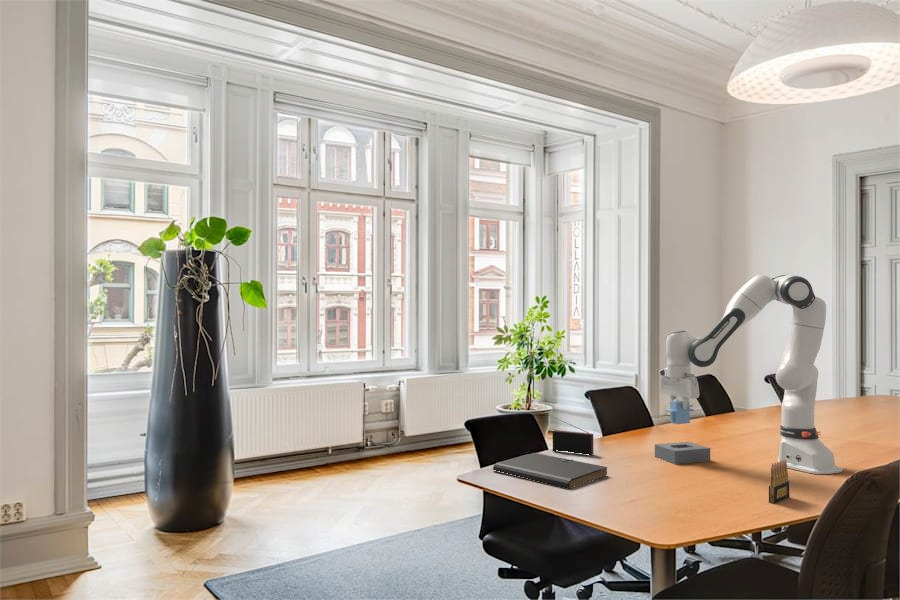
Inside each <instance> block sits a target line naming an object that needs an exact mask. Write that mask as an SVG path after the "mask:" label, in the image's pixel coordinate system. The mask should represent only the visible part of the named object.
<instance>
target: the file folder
mask: <svg viewBox="0 0 900 600" xmlns="http://www.w3.org/2000/svg"><path fill="white" fill-rule="evenodd" d="M493 470H496V471H500V472H504V473H508V474H512V475H516V476H520V477H524V478H528V479H531V480H530V481H532V480H535V481H534V482H536V481H539V482H538V483H541V482H543V483H542V484H545V483H547V484H546V485H549V484H551V486H554V485H555V486H554V487H558V486H560V487H559V488H562V487H564V489H566V488H568V489H567V490H570V489H571V488H570V487H573V488H575V487H574V486H576V487H578V486H577V485H579V486H581V485H580V484H582V485H584V484H583V483H585V484H587V483H586V482H588V483H590V482H589V481H591V482H593V481H592V480H594V479H597V478H600V477H603V476H606V475H608V466H606V465H605V466H604V465H598V464H594V463H588V462H585V461H578V460H574V459H568V458H563V457H558V456H552V455H546V454H542V453H538V452H532V453H529V454H524V455H519V456H516V457H513V458H509V459H505V460H502V461H497V462H496V463H494V465H493V468H492V471H493ZM606 477H607V476H606ZM524 478H523V479H524ZM603 478H604V477H603ZM528 479H527V480H528ZM600 479H601V478H600ZM597 480H598V479H597ZM594 481H595V480H594ZM569 488H570V489H569Z"/></svg>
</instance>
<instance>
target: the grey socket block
mask: <svg viewBox="0 0 900 600" xmlns="http://www.w3.org/2000/svg"><path fill="white" fill-rule="evenodd" d="M656 457H658V458H657V459H659V458H660V460H662V459H663V461H665V460H666V461H665V462H667V461H669V462H668V463H670V462H671V464H673V463H674V464H673V465H679V464H678V463H684V464H693V463H692V462H695V463H704V462H705V461H707V462H711V448H710V447H708V446H704V445H700V444H699V443H694V442H691V441H681V442H668V443H666V442H665V443H654V458H656Z"/></svg>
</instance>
